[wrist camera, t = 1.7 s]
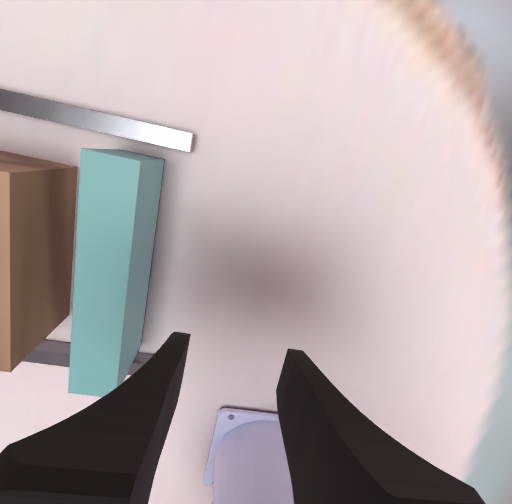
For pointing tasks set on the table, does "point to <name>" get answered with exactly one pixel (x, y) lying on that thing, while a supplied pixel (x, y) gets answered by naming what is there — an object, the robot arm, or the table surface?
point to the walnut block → (33, 252)
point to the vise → (102, 123)
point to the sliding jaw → (111, 265)
